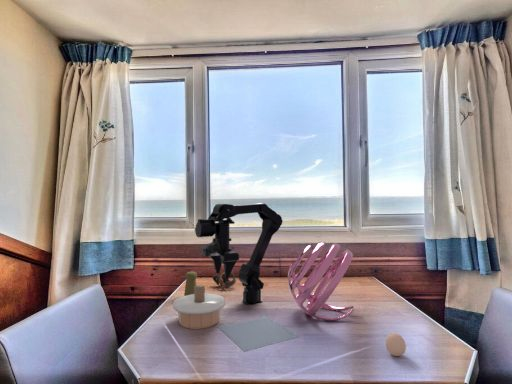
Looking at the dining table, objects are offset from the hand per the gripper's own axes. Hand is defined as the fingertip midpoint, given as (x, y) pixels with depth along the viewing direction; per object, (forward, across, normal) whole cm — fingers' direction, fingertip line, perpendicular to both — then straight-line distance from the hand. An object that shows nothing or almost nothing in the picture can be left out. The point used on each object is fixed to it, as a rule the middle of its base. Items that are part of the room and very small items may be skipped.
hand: (222, 275), depth 122 cm
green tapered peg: (+13, -21, -6) cm, 26 cm away
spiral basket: (+13, +23, +30) cm, 40 cm away
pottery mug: (+13, -28, +13) cm, 34 cm away
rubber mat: (+13, +26, +1) cm, 29 cm away
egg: (+13, +57, +27) cm, 64 cm away
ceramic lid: (+7, +8, -12) cm, 16 cm away
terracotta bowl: (+13, +8, -12) cm, 19 cm away
